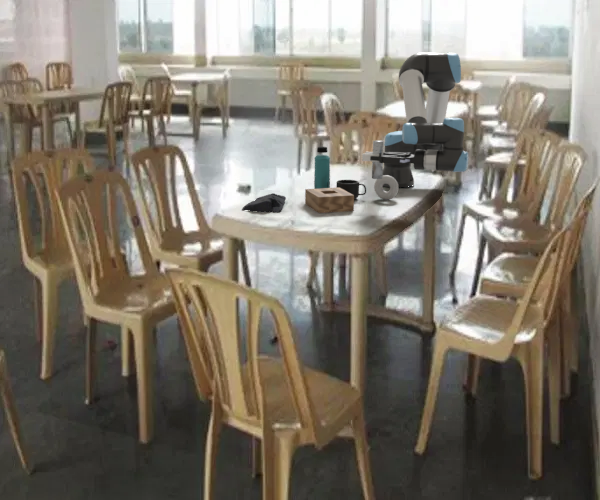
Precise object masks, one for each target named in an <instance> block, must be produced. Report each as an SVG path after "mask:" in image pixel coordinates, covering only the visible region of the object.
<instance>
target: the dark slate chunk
mask: <svg viewBox="0 0 600 500" xmlns="http://www.w3.org/2000/svg"><path fill="white" fill-rule="evenodd" d="M255 199H256V200H255ZM255 199H254V200H255V201H254V200H253V201H250V202H249V203H246V204H245V205H244V206H243V207H242V208H241V211H244V210H250V211H249V212H253V211H257V212H256V213H280V212H282V210H283V208H284V205H285V203H286V199H287V198H286V196H285V195H280V194H276V193H270V194H269V193H268V194H266V195H263V196H259V197H257V198H255Z"/></svg>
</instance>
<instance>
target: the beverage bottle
mask: <svg viewBox="0 0 600 500" xmlns="http://www.w3.org/2000/svg"><path fill="white" fill-rule="evenodd" d="M316 149H317V150H316V152H317V153H321V154H317V155H316V156H315V157H314V173H313V174H314V177H313V179H314V181H313V185H314V186H313V188H314V189H319V188H331V175H330V174H331V162H330V161H331V160H330V159H331V157H330V156H329V155H328V154H325V153H328V147H327V146H317V148H316ZM322 153H323V154H322Z"/></svg>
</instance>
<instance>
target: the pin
mask: <svg viewBox="0 0 600 500" xmlns="http://www.w3.org/2000/svg"><path fill="white" fill-rule="evenodd" d="M384 144H385V140H378V139H377V140H372V152H373V154H379V153H381V155H383V153H384V149H385V146H384ZM371 162H372V161H371ZM371 168H372V169H371V179H374V180H377V179H382V178H383V168H384V163H380V162H372V163H371Z"/></svg>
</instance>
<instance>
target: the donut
mask: <svg viewBox="0 0 600 500" xmlns="http://www.w3.org/2000/svg"><path fill="white" fill-rule="evenodd" d="M385 183H386V184H389V186H390V187H389V190H388V191H387V190H384V186H383V185H384V184H385ZM373 188H374V192H375V194H376V196H377V197H378V198H380V199H381V200H385V201H387V200H393V199H394V198H395V197H396V196H397V194H398V192H399V189H400V188H399V187H398V183H397V181H396V180H395V179H394V178H393V177H392V176H389V175H383V178H382V179H375V183H374V187H373Z"/></svg>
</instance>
